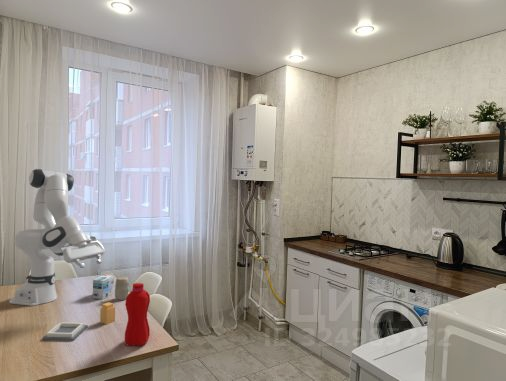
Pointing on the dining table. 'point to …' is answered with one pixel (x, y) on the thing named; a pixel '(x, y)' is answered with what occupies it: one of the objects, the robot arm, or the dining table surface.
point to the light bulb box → (103, 286)
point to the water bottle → (137, 316)
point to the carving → (121, 288)
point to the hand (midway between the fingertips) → (91, 265)
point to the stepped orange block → (107, 313)
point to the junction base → (65, 332)
